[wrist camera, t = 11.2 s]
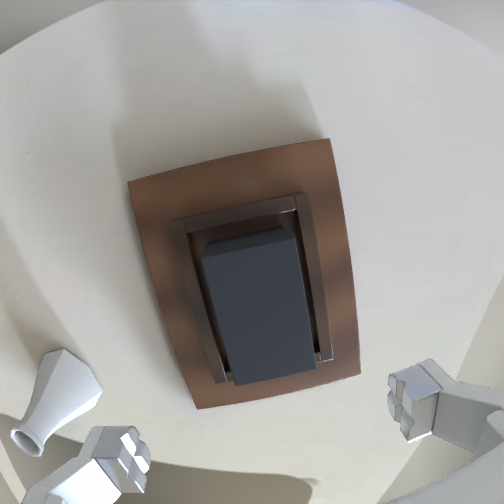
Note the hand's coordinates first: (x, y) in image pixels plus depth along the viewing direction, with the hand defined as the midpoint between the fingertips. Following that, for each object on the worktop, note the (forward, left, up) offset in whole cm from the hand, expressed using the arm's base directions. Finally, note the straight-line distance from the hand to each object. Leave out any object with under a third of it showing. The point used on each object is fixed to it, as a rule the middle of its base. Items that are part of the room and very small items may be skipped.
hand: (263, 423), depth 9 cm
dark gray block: (+1, +1, -15) cm, 15 cm away
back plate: (+1, +1, -17) cm, 17 cm away
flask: (+7, -19, -17) cm, 27 cm away
